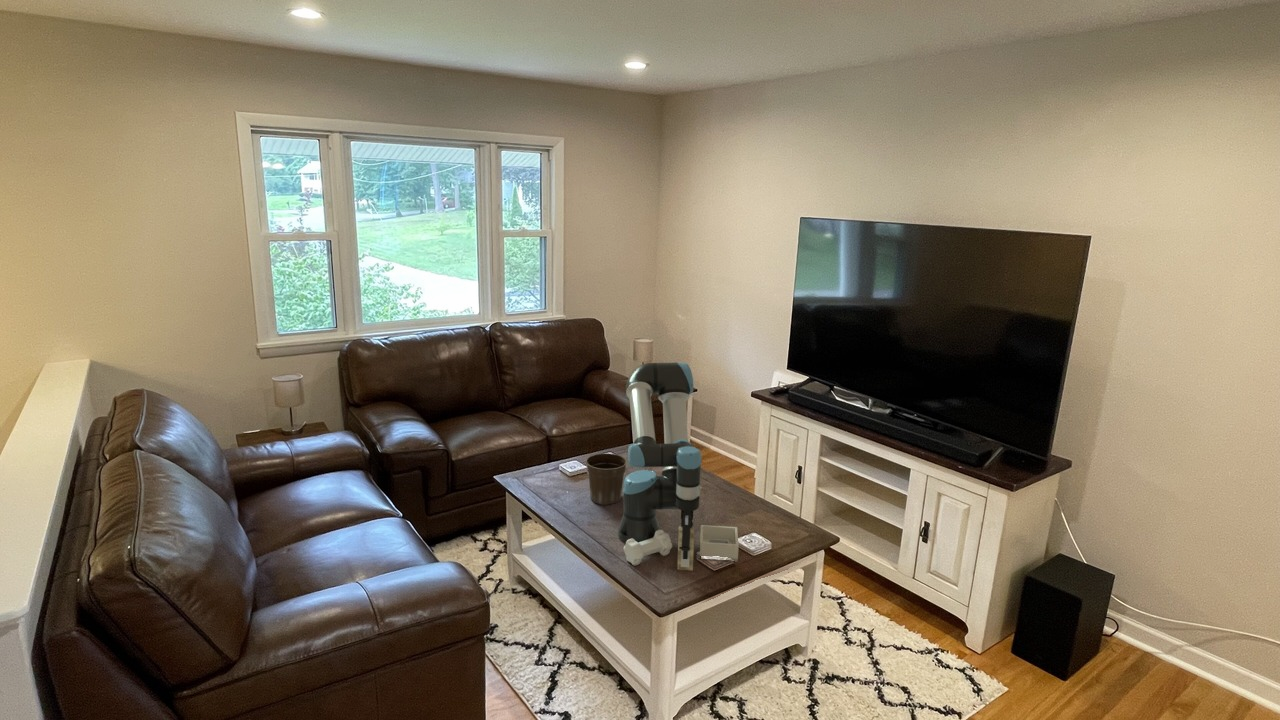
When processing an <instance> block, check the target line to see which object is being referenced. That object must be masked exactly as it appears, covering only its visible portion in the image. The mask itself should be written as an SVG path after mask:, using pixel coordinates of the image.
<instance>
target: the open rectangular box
mask: <svg viewBox="0 0 1280 720" xmlns="http://www.w3.org/2000/svg"><path fill="white" fill-rule="evenodd" d="M738 534H739V532H738V527H737V526H727V525H726V526H723V525H722V526H721V525H708V524H701V525H700V536H699V538H700V539H699V541H700V542H699V557H700V556H720V557H728V558H731V559H732V560H734V561H735V562H736V563H738V561H739V547H740V545H739V535H738ZM735 562H734V563H735Z"/></svg>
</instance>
